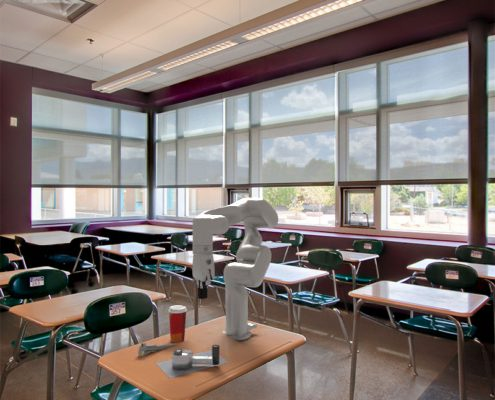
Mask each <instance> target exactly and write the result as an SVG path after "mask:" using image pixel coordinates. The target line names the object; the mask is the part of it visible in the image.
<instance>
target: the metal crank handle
mask: <svg viewBox="0 0 495 400" xmlns="http://www.w3.org/2000/svg"><path fill="white" fill-rule="evenodd" d="M220 348H221V347H220V345H219V344H212V345H211V350H212V357H208V356H193V354H194V353H193V351H192V350H190V349H181V348H176V349H174V350H173V352H172V355H171V359H172V367H173V368H174V369H177V370H185V369H188V368H190V367H192V365H193V364H204V365H218V364H219V357H220V356H221V355H220V350H221V349H220ZM218 366H219V365H218Z"/></svg>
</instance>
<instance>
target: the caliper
mask: <svg viewBox="0 0 495 400" xmlns="http://www.w3.org/2000/svg"><path fill="white" fill-rule="evenodd" d="M178 344H179V343H165V344H159V345H158V344H147V343H146V342H141V344H140V345H139V348H138V351H137V352H138V353H137V356H138V357H139V358H140V357H142V356H143V355H144V356H146V355H148V353H156V352H157V351H159V350H164V349H168V348H170V347H173V346H176V345H178Z"/></svg>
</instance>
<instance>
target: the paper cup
mask: <svg viewBox="0 0 495 400" xmlns="http://www.w3.org/2000/svg"><path fill="white" fill-rule="evenodd" d="M187 311H188V309H187V306H185V305H182V304H181V305H180V304H177V305H176V304H175V305H171V306H170V307H169V308H168V310H167V312H168V314H169V315H168V317H169V333H170V334H169V335H170V337H169V338H170V343H171V344H174V343H178V344H179V343H180V344H181V343H184V342H185V336H186V335H185V334H186V320H187V319H186V318H187Z"/></svg>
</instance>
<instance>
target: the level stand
mask: <svg viewBox="0 0 495 400" xmlns="http://www.w3.org/2000/svg"><path fill="white" fill-rule="evenodd" d="M193 356H208V357H212V349H210V350H209V349H208V350H204V351H201V352H198V353H197V352H196V353H193ZM226 364H229V361H227V359H225V358H223V357H222V356H221V355H220V357H219V364H218V365H204V364H193V365H192V367H190V368H188V369H185V370H177V369H174V368H173V367H172V358H171V359H167V360H164V361H160V362H156V363H155V365H156V366H157V367H158V368H159V369H160V370H161V371H162V372H163V373H164V374H165V375H166V376H167V377H168V378H169V379H173V378H176V377H177V378H178V377H179V376H184V375H187V374H190V373H191V374H192V373H195V372H198V371H202V370H206V369H209V368H213V367H218V366H220V365H226Z"/></svg>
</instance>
